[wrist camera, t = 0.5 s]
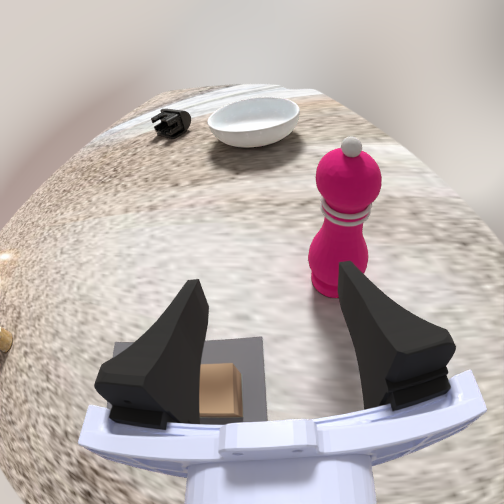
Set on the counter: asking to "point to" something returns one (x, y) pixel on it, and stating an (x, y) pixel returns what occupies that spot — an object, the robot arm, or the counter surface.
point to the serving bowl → (254, 121)
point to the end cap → (172, 123)
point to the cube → (220, 391)
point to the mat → (248, 364)
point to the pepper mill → (343, 212)
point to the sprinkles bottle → (5, 339)
